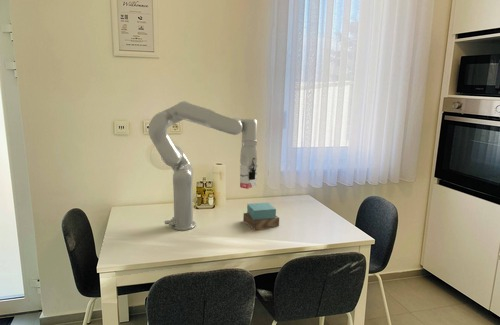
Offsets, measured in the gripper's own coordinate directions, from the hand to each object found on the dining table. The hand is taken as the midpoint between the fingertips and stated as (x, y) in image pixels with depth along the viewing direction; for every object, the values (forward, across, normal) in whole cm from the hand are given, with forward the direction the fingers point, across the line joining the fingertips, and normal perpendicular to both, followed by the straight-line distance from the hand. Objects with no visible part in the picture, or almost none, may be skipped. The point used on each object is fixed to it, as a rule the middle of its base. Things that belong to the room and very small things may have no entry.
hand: (248, 177), depth 190 cm
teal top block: (+21, 0, +8) cm, 23 cm away
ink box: (+5, 0, 0) cm, 5 cm away
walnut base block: (+26, 0, +8) cm, 28 cm away
